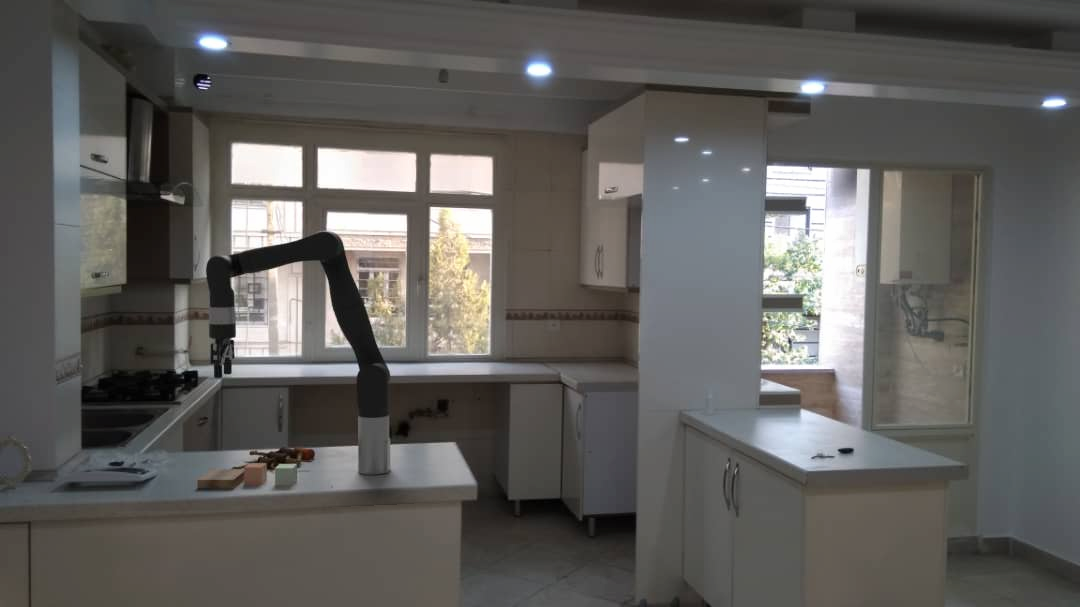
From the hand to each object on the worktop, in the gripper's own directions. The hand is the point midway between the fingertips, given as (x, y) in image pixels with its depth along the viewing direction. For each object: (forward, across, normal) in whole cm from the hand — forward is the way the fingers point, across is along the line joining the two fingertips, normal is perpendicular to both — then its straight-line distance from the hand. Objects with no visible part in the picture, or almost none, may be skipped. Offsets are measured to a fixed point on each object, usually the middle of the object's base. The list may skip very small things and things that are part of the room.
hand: (223, 376), depth 253 cm
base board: (+29, -13, -4) cm, 32 cm away
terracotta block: (+29, -12, -13) cm, 34 cm away
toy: (+30, +7, -12) cm, 33 cm away
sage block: (+29, -13, -22) cm, 39 cm away
